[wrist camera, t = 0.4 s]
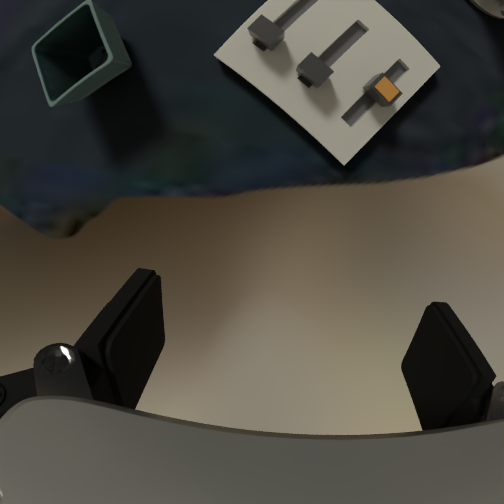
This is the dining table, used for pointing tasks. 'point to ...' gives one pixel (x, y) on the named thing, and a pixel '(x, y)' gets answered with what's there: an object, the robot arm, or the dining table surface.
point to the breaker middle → (314, 70)
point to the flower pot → (79, 55)
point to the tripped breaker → (382, 90)
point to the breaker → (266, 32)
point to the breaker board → (331, 66)
